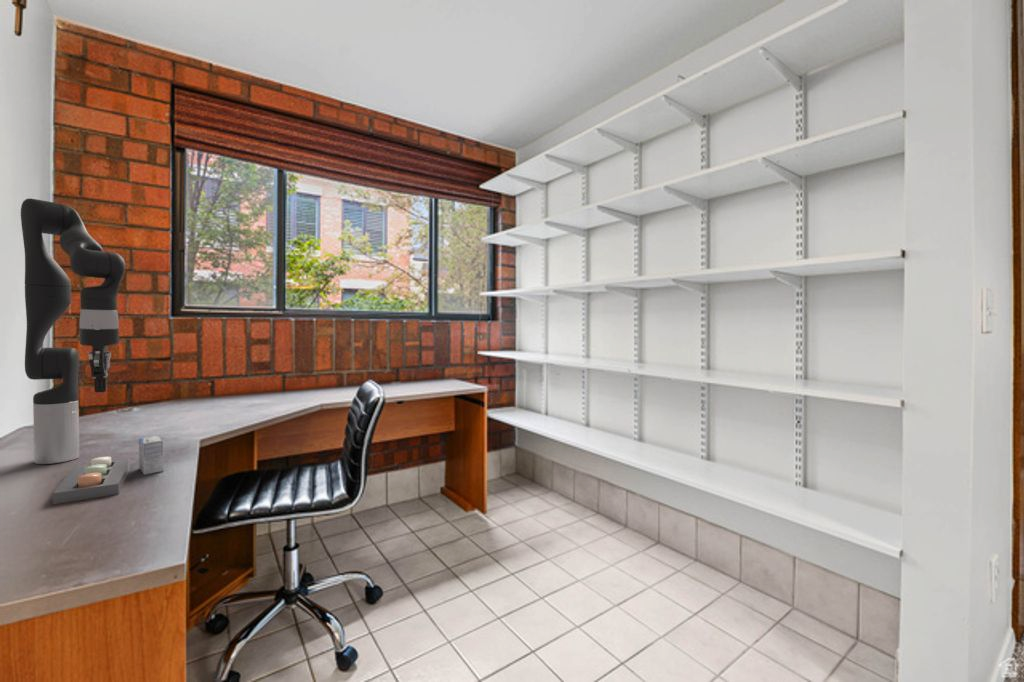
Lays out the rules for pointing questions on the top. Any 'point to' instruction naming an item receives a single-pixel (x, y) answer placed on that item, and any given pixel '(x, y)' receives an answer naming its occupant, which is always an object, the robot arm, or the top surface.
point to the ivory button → (101, 461)
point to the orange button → (89, 480)
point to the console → (108, 485)
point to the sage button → (97, 469)
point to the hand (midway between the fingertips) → (100, 391)
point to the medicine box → (151, 455)
